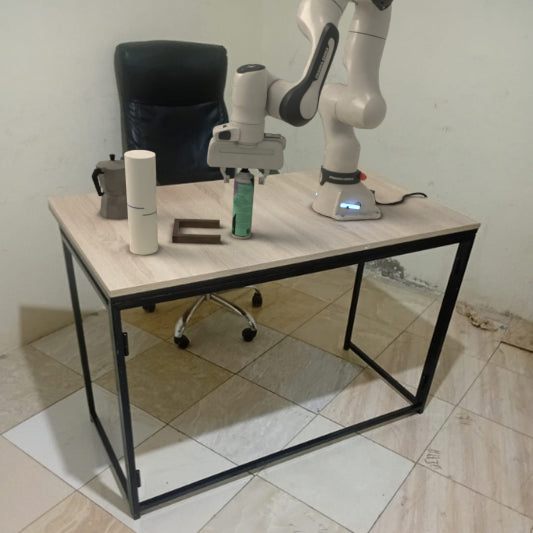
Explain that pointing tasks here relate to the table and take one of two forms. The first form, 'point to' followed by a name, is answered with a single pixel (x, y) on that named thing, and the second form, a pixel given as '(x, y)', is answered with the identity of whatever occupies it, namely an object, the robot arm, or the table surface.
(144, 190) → the cylindrical container
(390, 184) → the table surface
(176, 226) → the frame
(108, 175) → the coffeepot
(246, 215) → the spray can
